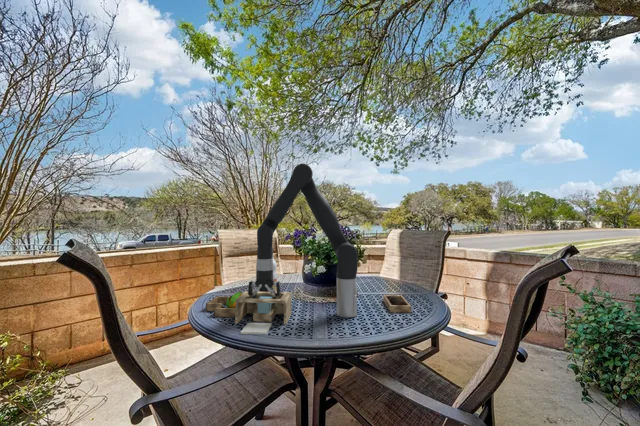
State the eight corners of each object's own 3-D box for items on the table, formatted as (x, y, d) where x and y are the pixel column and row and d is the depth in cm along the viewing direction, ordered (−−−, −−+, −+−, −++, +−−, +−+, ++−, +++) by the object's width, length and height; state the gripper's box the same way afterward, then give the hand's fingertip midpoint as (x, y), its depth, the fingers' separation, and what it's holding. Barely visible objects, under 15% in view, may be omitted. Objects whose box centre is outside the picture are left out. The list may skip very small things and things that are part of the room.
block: (271, 309, 131) (271, 296, 132) (268, 313, 126) (268, 299, 127) (260, 309, 132) (260, 296, 132) (257, 313, 127) (257, 299, 127)
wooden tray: (402, 301, 156) (402, 295, 156) (411, 312, 137) (411, 306, 137) (383, 300, 156) (383, 295, 156) (390, 312, 137) (390, 305, 137)
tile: (271, 325, 121) (271, 323, 121) (265, 334, 111) (265, 332, 111) (248, 324, 121) (248, 322, 121) (240, 334, 111) (240, 332, 111)
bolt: (390, 306, 153) (404, 314, 139) (382, 301, 153) (395, 309, 138) (395, 296, 154) (409, 303, 139) (387, 291, 153) (400, 298, 139)
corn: (223, 297, 135) (235, 287, 155) (222, 313, 135) (234, 301, 155) (239, 298, 135) (249, 288, 155) (238, 314, 135) (248, 302, 155)
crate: (291, 313, 135) (291, 292, 136) (286, 324, 121) (286, 300, 122) (245, 312, 137) (245, 291, 137) (235, 323, 123) (235, 299, 123)
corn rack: (272, 299, 158) (272, 293, 158) (258, 317, 130) (258, 309, 130) (222, 299, 160) (222, 292, 160) (198, 316, 132) (198, 308, 132)
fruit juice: (275, 302, 152) (275, 250, 153) (257, 302, 153) (257, 250, 153) (278, 298, 162) (278, 248, 162) (262, 297, 162) (262, 248, 163)
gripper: (281, 267, 133) (281, 302, 133) (251, 266, 134) (251, 301, 133) (278, 270, 125) (278, 307, 125) (246, 269, 126) (246, 306, 126)
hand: (264, 304), depth 129 cm, fingers open, 8 cm apart
